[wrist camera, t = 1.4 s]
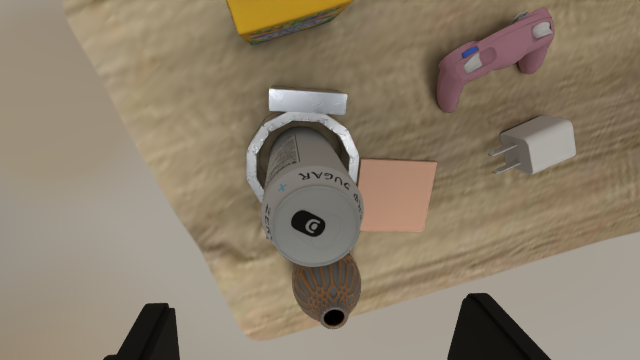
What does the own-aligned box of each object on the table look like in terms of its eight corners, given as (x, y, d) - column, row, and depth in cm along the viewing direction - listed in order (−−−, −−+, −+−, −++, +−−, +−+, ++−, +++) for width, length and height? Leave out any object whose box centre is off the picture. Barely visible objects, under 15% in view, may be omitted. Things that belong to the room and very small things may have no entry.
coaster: (435, 161, 32) (437, 162, 32) (421, 229, 35) (423, 231, 34) (360, 158, 31) (361, 159, 31) (351, 228, 34) (352, 231, 33)
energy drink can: (311, 194, 32) (334, 291, 18) (259, 167, 30) (238, 250, 16) (342, 144, 31) (393, 206, 17) (288, 113, 29) (294, 153, 15)
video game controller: (511, 34, 31) (559, -17, 24) (534, 74, 30) (590, 34, 23) (419, 78, 31) (439, 42, 24) (440, 119, 30) (468, 93, 23)
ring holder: (251, 84, 28) (244, 87, 23) (355, 91, 29) (369, 95, 24) (251, 213, 32) (245, 238, 27) (342, 215, 33) (352, 239, 29)
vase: (328, 294, 37) (341, 360, 28) (279, 268, 35) (278, 330, 26) (364, 251, 35) (389, 307, 27) (315, 222, 33) (326, 272, 25)
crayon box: (252, 47, 27) (231, 32, 16) (239, 10, 26) (207, -34, 15) (332, 23, 27) (366, -9, 16) (323, -15, 26) (352, -77, 15)
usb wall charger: (543, 148, 33) (576, 158, 30) (483, 175, 34) (509, 188, 30) (538, 114, 32) (571, 120, 28) (475, 142, 32) (501, 151, 28)
